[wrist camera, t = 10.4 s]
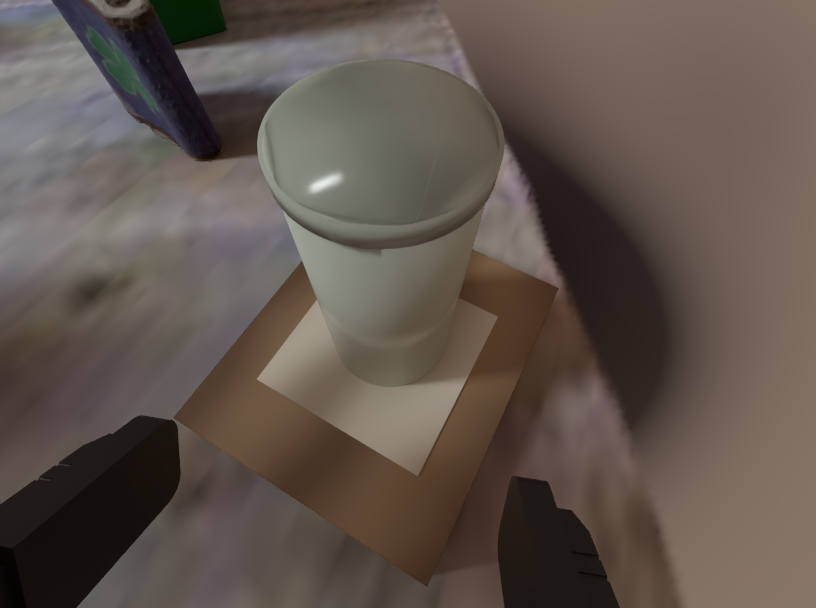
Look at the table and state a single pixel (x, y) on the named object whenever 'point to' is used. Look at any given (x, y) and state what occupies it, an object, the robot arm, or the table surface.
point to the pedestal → (373, 412)
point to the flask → (143, 70)
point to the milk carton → (189, 18)
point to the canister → (383, 203)
